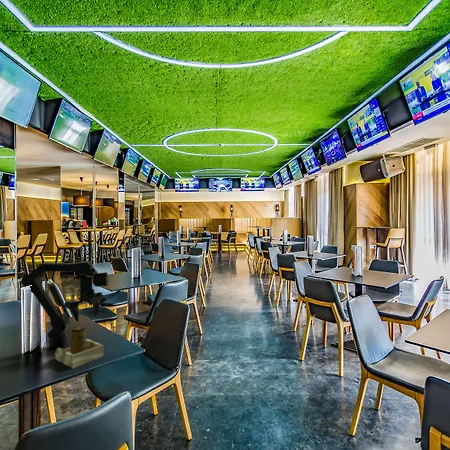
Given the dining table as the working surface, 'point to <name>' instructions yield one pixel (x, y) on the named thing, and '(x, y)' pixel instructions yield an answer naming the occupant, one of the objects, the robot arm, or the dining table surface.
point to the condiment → (78, 340)
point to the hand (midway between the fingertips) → (86, 318)
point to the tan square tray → (80, 354)
